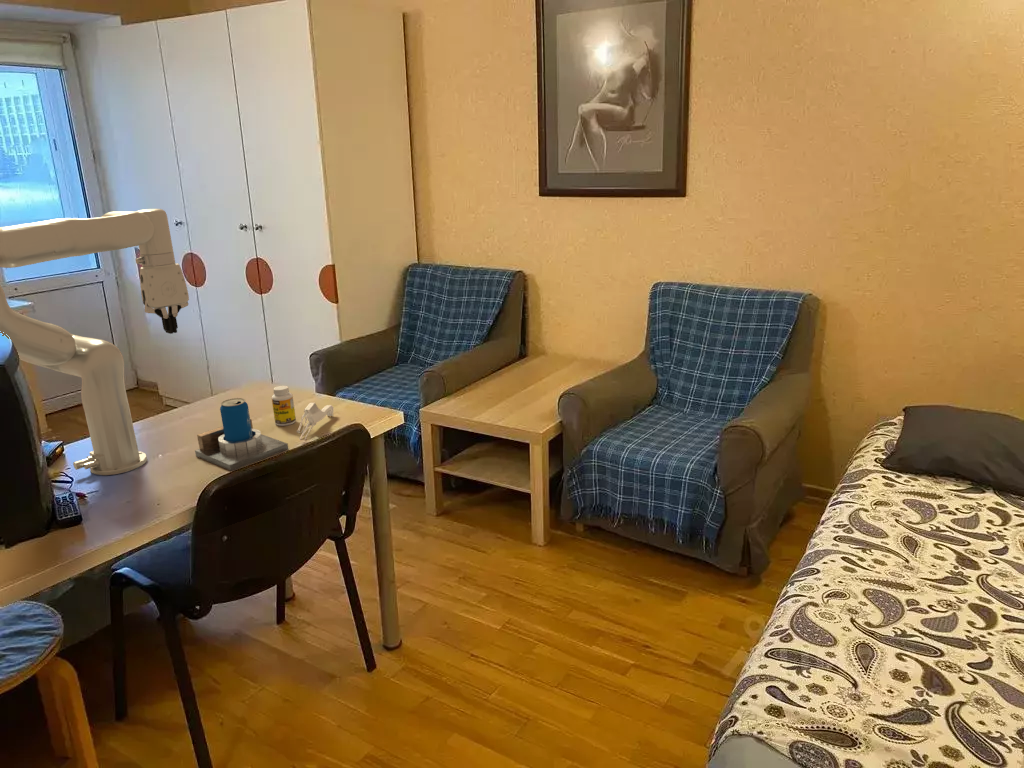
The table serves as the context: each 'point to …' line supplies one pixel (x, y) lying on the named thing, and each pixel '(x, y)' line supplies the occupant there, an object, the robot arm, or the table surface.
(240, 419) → the beverage can
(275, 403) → the supplement bottle
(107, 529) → the table surface
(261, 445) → the jig
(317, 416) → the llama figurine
